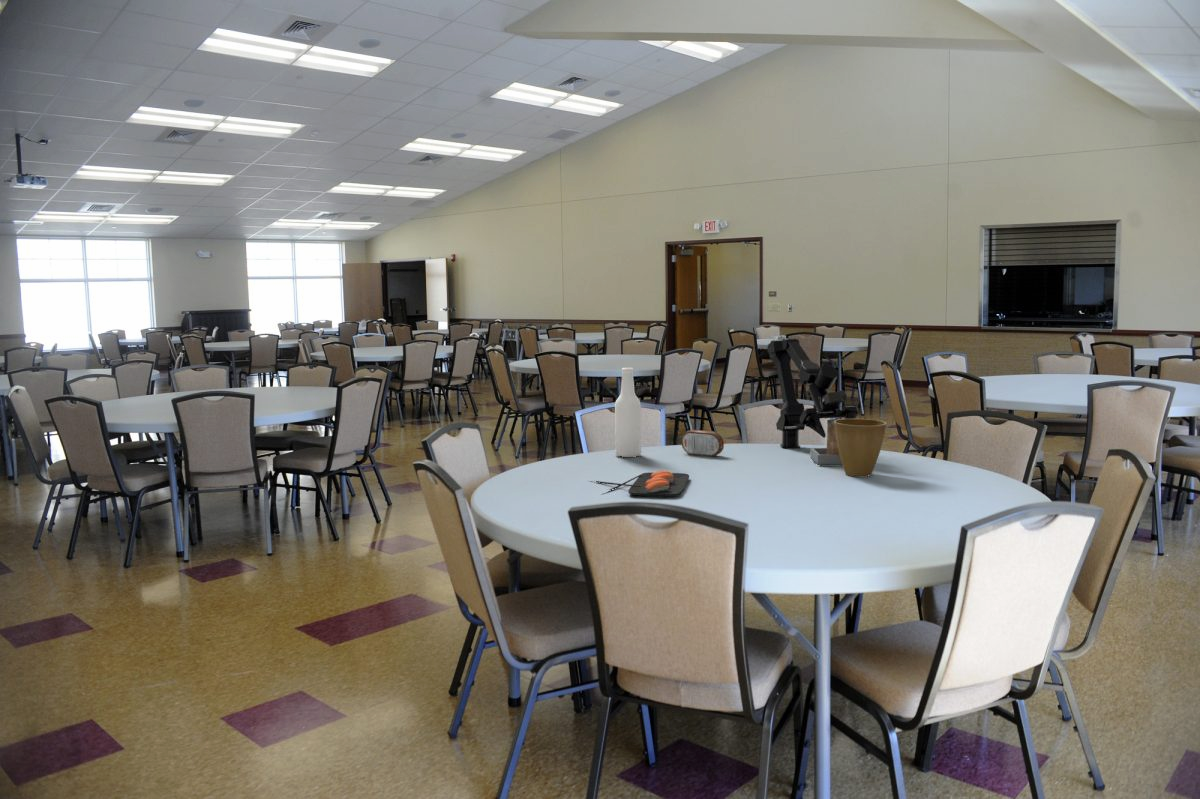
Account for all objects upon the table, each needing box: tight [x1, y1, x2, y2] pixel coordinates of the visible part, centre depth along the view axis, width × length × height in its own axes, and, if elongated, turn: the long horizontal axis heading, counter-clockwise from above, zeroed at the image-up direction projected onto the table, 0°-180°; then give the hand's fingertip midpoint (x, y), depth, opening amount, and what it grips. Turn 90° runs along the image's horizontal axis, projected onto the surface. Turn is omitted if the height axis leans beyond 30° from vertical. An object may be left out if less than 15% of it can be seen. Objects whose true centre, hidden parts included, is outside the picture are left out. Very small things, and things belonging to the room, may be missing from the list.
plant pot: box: [834, 418, 887, 477], centre depth 272 cm, size 15×15×16 cm
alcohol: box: [614, 367, 642, 458], centre depth 310 cm, size 9×9×30 cm
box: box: [809, 447, 842, 466], centre depth 294 cm, size 14×14×4 cm
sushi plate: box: [595, 470, 690, 497], centre depth 261 cm, size 29×30×4 cm
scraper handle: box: [826, 418, 840, 455], centre depth 294 cm, size 4×4×13 cm
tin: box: [680, 429, 725, 457], centre depth 310 cm, size 15×3×8 cm, turn 58°
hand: (837, 436), depth 292 cm, fingers open, 9 cm apart
